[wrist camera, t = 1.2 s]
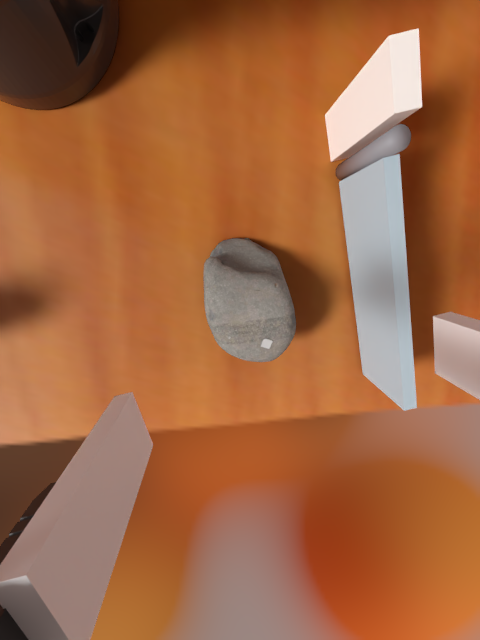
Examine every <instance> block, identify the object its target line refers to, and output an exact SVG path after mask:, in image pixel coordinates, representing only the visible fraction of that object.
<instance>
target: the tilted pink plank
mask: <svg viewBox="0 0 480 640" xmlns="http://www.w3.org/2000/svg"><path fill="white" fill-rule="evenodd" d="M421 107H422V91H421V69H420V48H419V28H418V29H414V30H410V31H406V32H402V33H398V34H393V35H389V36H388V37H387V38H386V40H385V41H384V42H383V43H382V45H381V46H380V47H379V48H378V50H377V51H376V52H375V53H374V55H373V56H372V57H371V58H370V60H369V61H368V62H367V63H366V65H365V66H364V67H363V68H362V70H361V71H360V72H359V73H358V75H357V76H356V77H355V78H354V80H353V81H352V82H351V83H350V85H349V86H348V87H347V88H346V90H345V91H344V92H343V93H342V94H341V96H340V97H339V98H338V99H337V101H336V102H335V103H334V104H333V106H332V107H331V108H330V109H329V111H328V112H327V113H326V114H325V120H326V128H327V135H328V143H329V151H330V158H331V162H333V161H337V160H341V159H345V158H349V157H350V156H352V155H353V154H355V153H356V152H358V151H359V150H360V149H362V148H363V147H365V146H366V145H368V144H369V143H371V142H372V141H374V140H375V139H376V138H378V137H379V136H381V135H382V134H384V133H385V132H387V131H388V130H390V129H391V128H392V127H394V126H395V125H397V124H398V123H400V122H401V121H403V120H404V119H405V118H407V117H408V116H410V115H411V114H413V113H414V112H416V111H417V110H419V109H420V108H421Z"/></svg>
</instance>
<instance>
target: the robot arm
mask: <svg viewBox="0 0 480 640" xmlns="http://www.w3.org/2000/svg"><path fill="white" fill-rule="evenodd" d="M118 27H119V8H118V0H0V100H1V101H3V102H6V103H9V104H11V105H14V106H18V107H22V108H27V109H36V110H47V109H55V108H60V107H63V106H66V105H69V104H71V103H73V102H75V101H77V100H79V99H81V98H82V97H84V96H85V95H86V94H88V93H89V92H90V91H91V90H92V89H93V88H94V87H95V86H96V85H97V84H98V82H99V81H100V80H101V78H102V77H103V75H104V74H105V72H106V70H107V68H108V66H109V64H110V62H111V59H112V57H113V54H114V50H115V47H116V42H117V36H118ZM433 333H434V359H435V373H436V374H437V375H439V376H441V377H442V378H444V379H446V380H447V381H449V382H451V383H452V384H454V385H456V386H457V387H459V388H461V389H462V390H464V391H466V392H467V393H469V394H471V395H473V396H474V397H476V398H478V399H479V400H480V320H477V319H473V318H470V317H466V316H463V315H460V314H456V313H453V312H447V313H443V314H439V315H435V316H433ZM152 447H153V443H152V441H151V438H150V435H149V433H148V430H147V428H146V425H145V423H144V420H143V418H142V415H141V413H140V410H139V408H138V405H137V403H136V400H135V398H134V395H133V393H132V392H130V393H126V394H122V395H119V396H115V397H114V398H113V400H112V401H111V402H110V404H109V405H108V407H107V408H106V410H105V411H104V413H103V414H102V416H101V417H100V419H99V420H98V422H97V423H96V425H95V426H94V428H93V429H92V430H91V432H90V433H89V435H88V436H87V438H86V439H85V441H84V442H83V444H82V445H81V447H80V448H79V450H78V451H77V453H76V454H75V455H74V457H73V459H72V460H71V461H70V463H69V465H68V466H67V467H66V469H65V470H64V472H63V473H62V475H61V476H60V478H59V479H58V481H57V482H55V483H51V484H50V485H49V486H48V487H47V488H46V489H45V490H44V491H42V492H41V493H40V494H39V495H38V496H37V497H36V498H35V499H34V500H33V501H32V503H31V504H30V506H29V507H28V508H27V510H26V511H25V513H24V514H23V515H22V517H21V518H20V519H21V520H20V522H17V524H16V525H15V526H14V528H13V529H12V531H11V532H10V533H9V537H8V538H6V539H5V540H4V542H3V543H2V544H1V546H0V640H90V638H91V636H92V632H93V629H94V626H95V623H96V620H97V617H98V614H99V611H100V608H101V605H102V601H103V598H104V595H105V592H106V589H107V586H108V583H109V580H110V577H111V574H112V571H113V568H114V564H115V561H116V558H117V555H118V552H119V549H120V546H121V542H122V540H123V537H124V533H125V530H126V527H127V524H128V521H129V518H130V515H131V512H132V509H133V505H134V503H135V500H136V496H137V493H138V490H139V487H140V484H141V481H142V478H143V475H144V472H145V469H146V465H147V462H148V459H149V456H150V453H151V450H152Z"/></svg>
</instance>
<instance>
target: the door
mask: <svg viewBox="0 0 480 640" xmlns="http://www.w3.org/2000/svg"><path fill="white" fill-rule="evenodd" d="M410 140H411V132H410V130H409V128H408V127H407V126H406V125H403V124H399V125H396V126H394V127H393V128H391V129H390V130H389V131H387V132H386V133H384V134H383V135H381V136H380V137H378V138H377V139H375V140H374V141H373V142H371V143H370V144H368V145H367V146H365V147H364V148H362V149H361V150H359V151H358V152H357V153H355V154H354V155H352V156H351V157H349V158H348V159H346V160H345V161H343V162H342V163H341V164H339V165H338V166H337V168H336V176H337V178H338V179H339V180H341V181H340V182H339V187H340V195H341V203H342V211H343V219H344V227H345V235H346V243H347V251H348V259H349V267H350V275H351V283H352V291H353V299H354V307H355V315H356V323H357V331H358V339H359V347H360V355H361V363H362V371H363V375H364V376H366V377H367V378H368V379H369V380H370V381H371V382H372V383H373V384H375V385H376V386H377V387H378V388H379V389H380V390H381V391H382V392H384V393H385V394H386V395H387V396H388V397H389V398H390V399H392V400H393V401H394V402H395V403H396V404H397V405H398V406H399V407H401V408H402V409H403V410H404V411H405V410H409V409H413V408H417V402H416V387H415V373H414V358H413V343H412V329H411V314H410V299H409V285H408V270H407V255H406V241H405V226H404V211H403V197H402V182H401V168H400V154H397V153H399V152H400V151H402V150H404V149H405V148H406V147H407V146H408V145H409V143H410ZM395 154H397V155H395Z"/></svg>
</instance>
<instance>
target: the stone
mask: <svg viewBox="0 0 480 640" xmlns="http://www.w3.org/2000/svg"><path fill="white" fill-rule="evenodd" d="M247 239H248V240H247ZM204 303H205V311H206V317H207V321H208V324H209V327H210V329H211V331H212V333H213V336H214V338H215V340H216V342H217V343H218V345H219V346H220V347H221V348H222V349H223V350H225V351H226V352H227V353H229V354H230V355H232V356H234V357H237V358H239V359H243V360H247V361H254V362H268V361H272V360H274V359H276V358H277V357H279V356H280V355H281V354H282V353H283V352H284V351H285V350H286V349H287V347H288V346H289V344H290V343H291V341H292V339H293V337H294V334H295V330H296V318H295V311H294V306H293V303H292V299H291V296H290V292H289V289H288V286H287V283H286V281H285V278H284V275H283V272H282V269H281V266H280V263H279V261H278V259H277V257H276V255H275V254H274V253H272V252H271V251H270V250H267V249H265V248H263V247H261V246H260V245H258V244H257V243H254V242H252V241H250V239H249V238H245V239H239V238H233V239H228V240H224V241H222V242H220V243H219V244H218V245H217V246H216V248H215V249H214V250H213V251H212V253H211V255H210V257H209V258H208V259H207V260H206V262H205V264H204Z"/></svg>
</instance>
